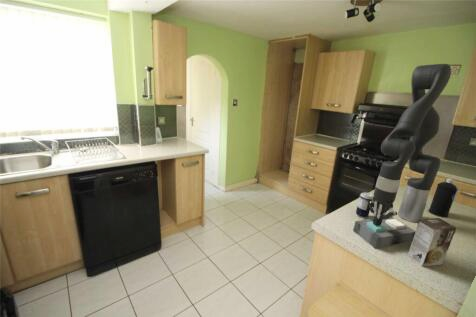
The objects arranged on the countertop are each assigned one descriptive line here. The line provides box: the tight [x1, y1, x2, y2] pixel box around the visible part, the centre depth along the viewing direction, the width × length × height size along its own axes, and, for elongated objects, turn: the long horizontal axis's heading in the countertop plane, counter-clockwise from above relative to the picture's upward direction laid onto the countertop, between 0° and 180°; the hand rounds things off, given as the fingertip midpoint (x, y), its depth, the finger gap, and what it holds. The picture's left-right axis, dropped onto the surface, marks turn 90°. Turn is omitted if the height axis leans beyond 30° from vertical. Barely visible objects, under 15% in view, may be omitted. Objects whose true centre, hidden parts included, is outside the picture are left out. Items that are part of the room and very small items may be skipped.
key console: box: [352, 216, 416, 249], centre depth 98 cm, size 21×12×5 cm, turn 106°
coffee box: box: [407, 217, 457, 267], centre depth 83 cm, size 9×6×16 cm
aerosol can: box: [427, 178, 459, 218], centre depth 118 cm, size 8×8×20 cm
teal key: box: [366, 221, 386, 232], centre depth 96 cm, size 5×5×4 cm
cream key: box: [385, 218, 406, 229], centre depth 99 cm, size 5×5×4 cm
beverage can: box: [355, 191, 374, 219], centre depth 113 cm, size 6×6×12 cm
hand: (376, 224), depth 95 cm, fingers closed
